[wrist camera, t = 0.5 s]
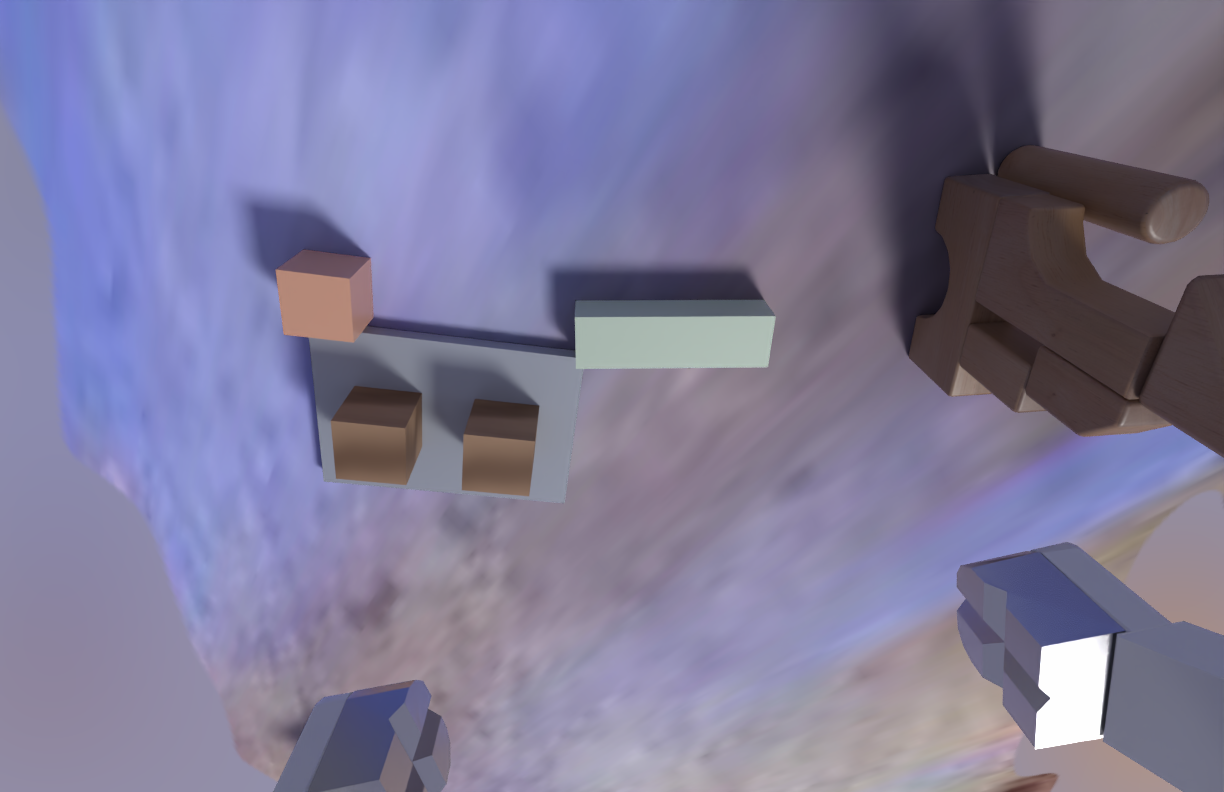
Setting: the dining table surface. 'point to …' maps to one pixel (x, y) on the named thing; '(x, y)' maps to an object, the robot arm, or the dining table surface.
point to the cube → (325, 295)
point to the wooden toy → (1073, 300)
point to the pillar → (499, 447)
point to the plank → (672, 333)
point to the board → (453, 399)
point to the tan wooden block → (377, 435)
